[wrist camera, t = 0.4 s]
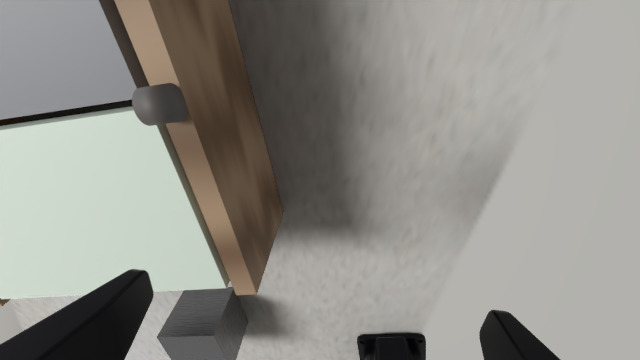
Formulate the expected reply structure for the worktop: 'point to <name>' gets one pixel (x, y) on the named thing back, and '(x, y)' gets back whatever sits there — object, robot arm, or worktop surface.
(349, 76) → the worktop surface
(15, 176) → the trapdoor
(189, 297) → the block
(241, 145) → the frame
